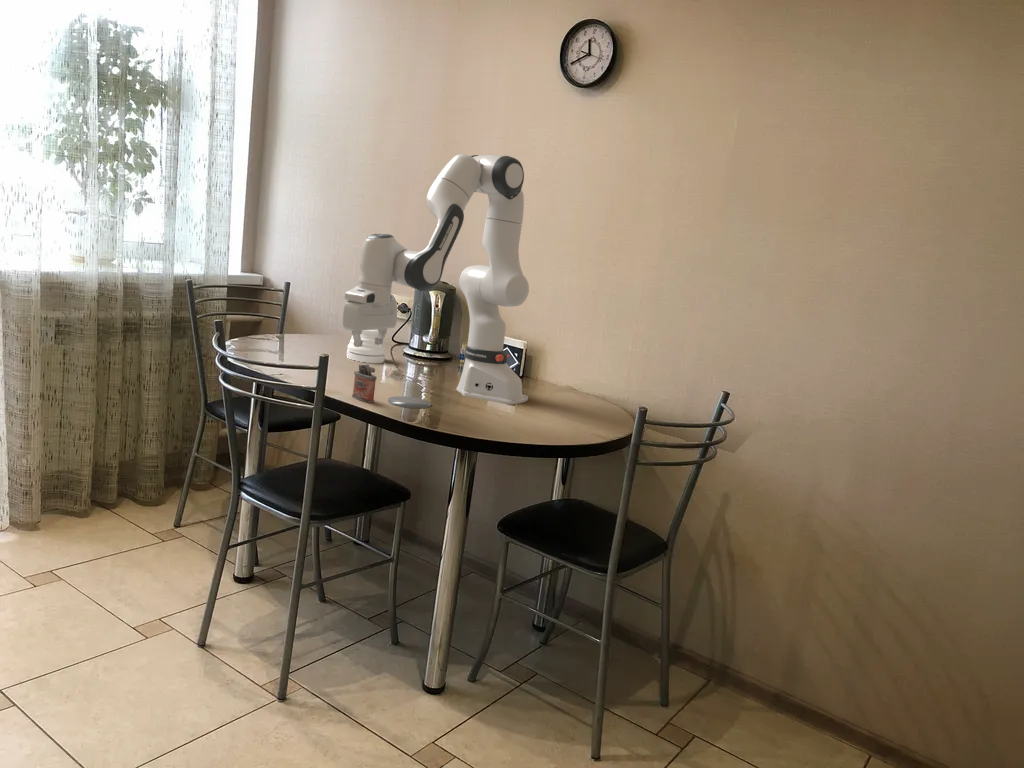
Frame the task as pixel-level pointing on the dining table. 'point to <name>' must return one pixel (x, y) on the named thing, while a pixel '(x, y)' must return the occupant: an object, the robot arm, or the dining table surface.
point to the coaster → (409, 402)
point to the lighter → (364, 384)
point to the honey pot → (367, 348)
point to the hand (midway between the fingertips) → (368, 345)
